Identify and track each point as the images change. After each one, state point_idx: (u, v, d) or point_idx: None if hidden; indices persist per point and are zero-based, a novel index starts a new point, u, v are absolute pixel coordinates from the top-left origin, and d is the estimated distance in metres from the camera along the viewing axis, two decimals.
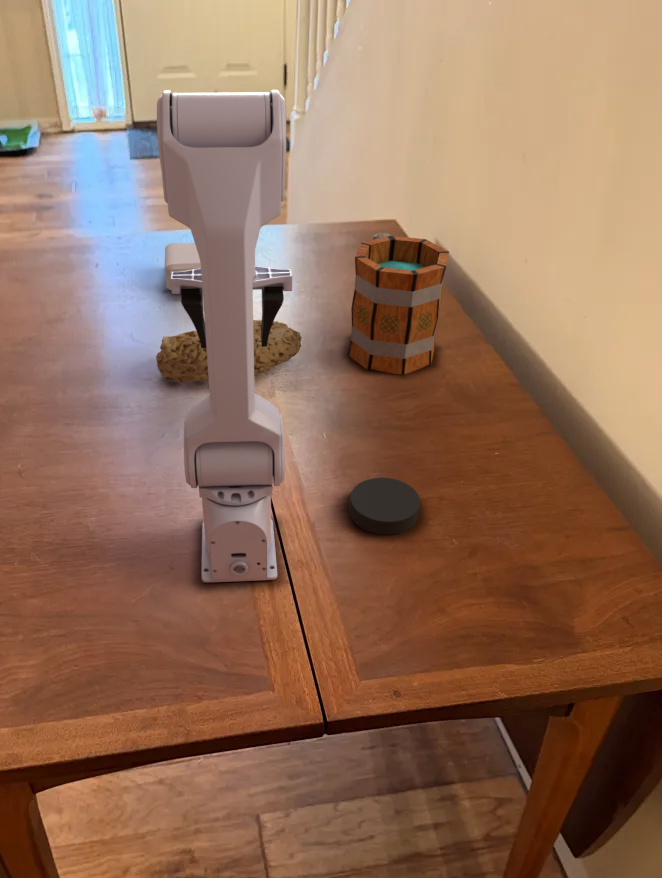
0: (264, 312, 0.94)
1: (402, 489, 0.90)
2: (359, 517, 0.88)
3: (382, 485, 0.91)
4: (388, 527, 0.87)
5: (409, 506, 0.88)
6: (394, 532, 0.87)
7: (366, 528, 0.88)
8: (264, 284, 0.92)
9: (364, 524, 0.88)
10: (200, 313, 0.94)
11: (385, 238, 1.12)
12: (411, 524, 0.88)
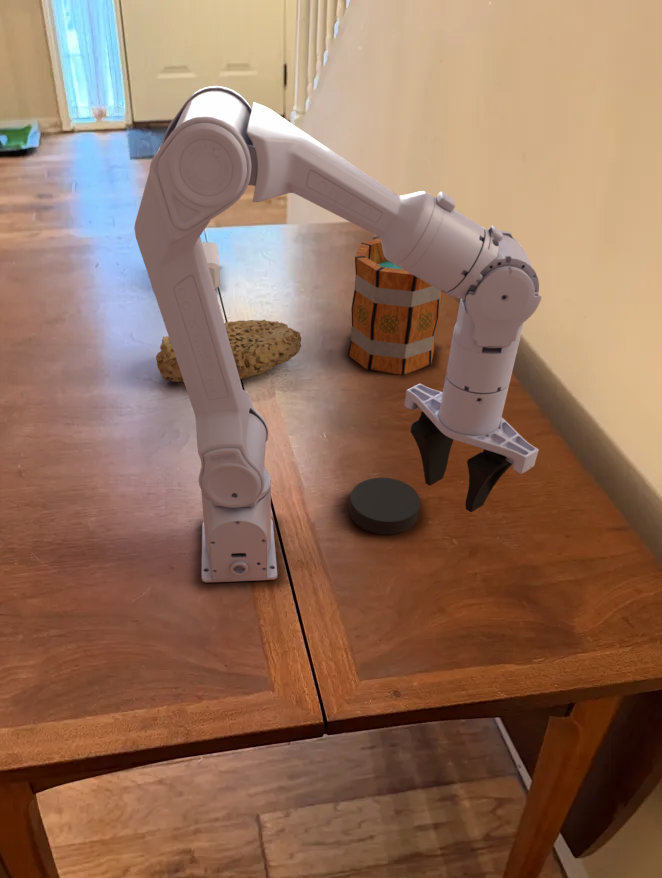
0: (470, 473, 0.74)
1: (402, 489, 0.90)
2: (359, 517, 0.88)
3: (382, 485, 0.91)
4: (388, 527, 0.87)
5: (409, 506, 0.88)
6: (394, 532, 0.87)
7: (366, 528, 0.88)
8: (487, 449, 0.71)
9: (364, 524, 0.88)
10: (425, 446, 0.77)
11: None
12: (411, 524, 0.88)
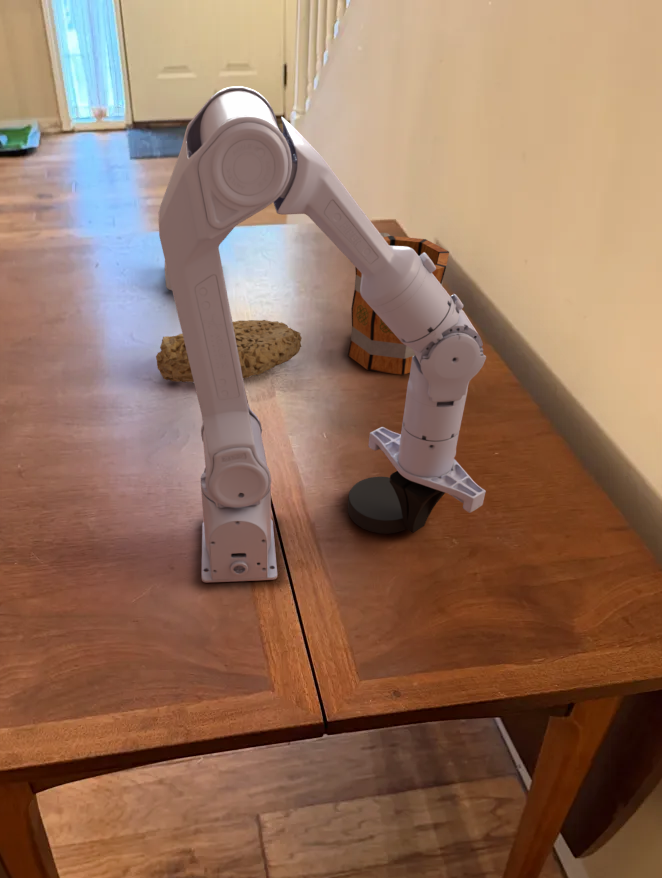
0: (408, 499, 0.82)
1: None
2: (358, 516, 0.88)
3: (381, 484, 0.91)
4: (387, 526, 0.87)
5: None
6: (393, 531, 0.87)
7: (365, 527, 0.88)
8: (440, 489, 0.78)
9: (362, 523, 0.88)
10: (403, 495, 0.83)
11: (385, 238, 1.12)
12: None
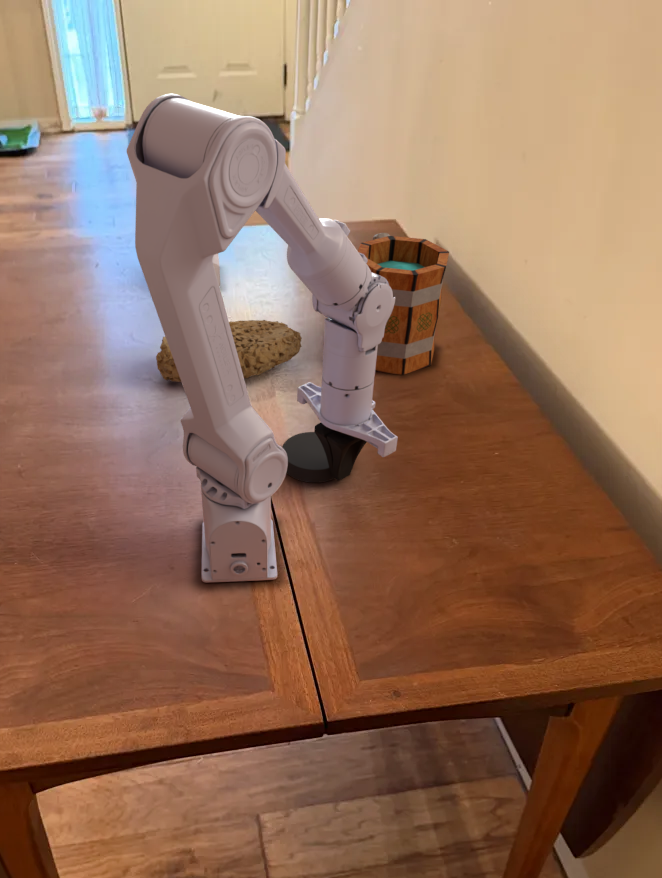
0: (331, 448, 0.89)
1: None
2: (289, 467, 0.94)
3: (312, 438, 0.98)
4: (315, 475, 0.93)
5: None
6: (322, 480, 0.94)
7: (295, 477, 0.95)
8: (357, 436, 0.85)
9: (293, 473, 0.94)
10: (327, 444, 0.89)
11: (385, 238, 1.12)
12: None
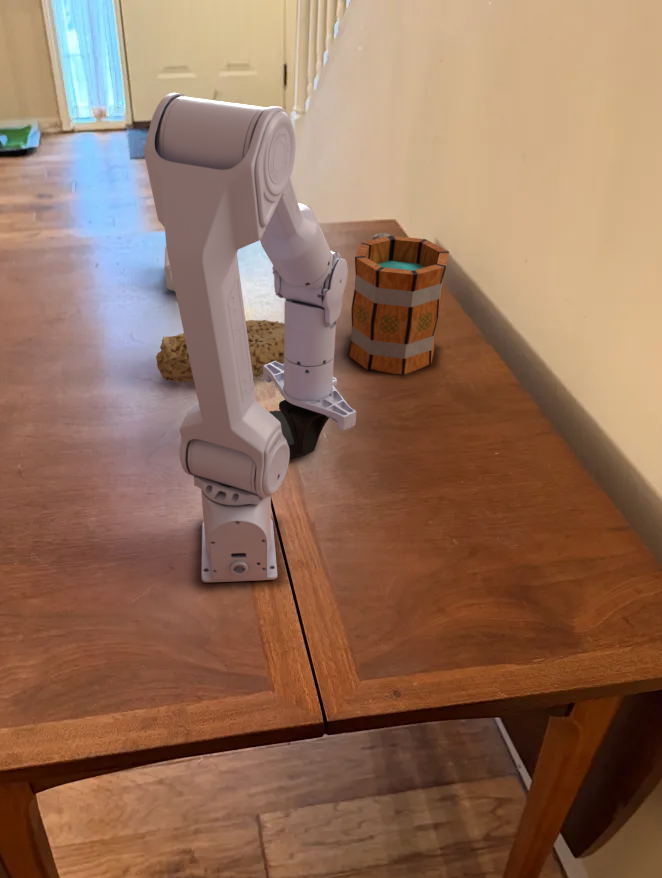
0: (295, 423, 0.93)
1: None
2: None
3: (280, 416, 1.01)
4: None
5: None
6: None
7: None
8: (317, 411, 0.88)
9: None
10: (291, 420, 0.93)
11: (385, 238, 1.12)
12: None
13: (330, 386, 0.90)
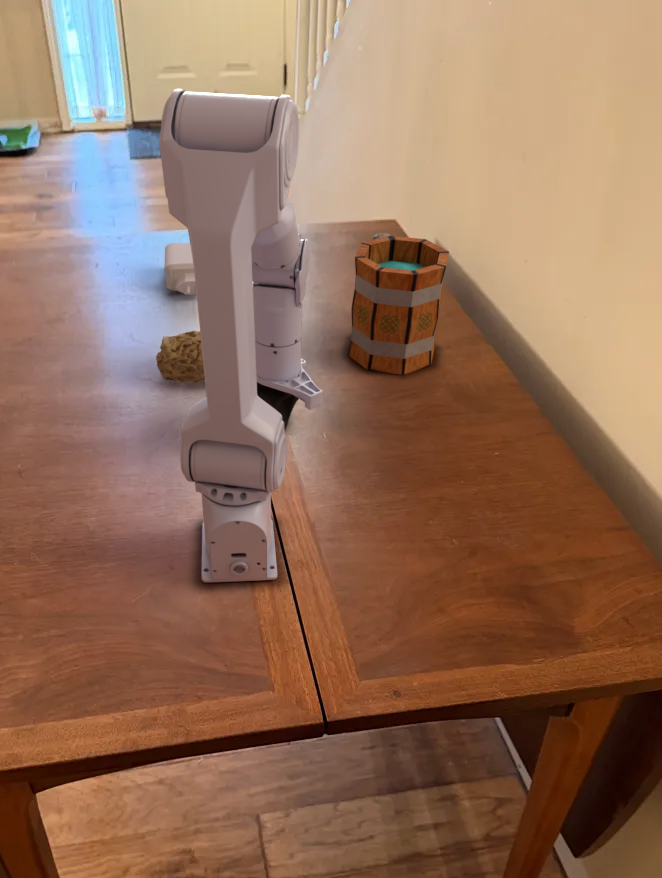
0: None
1: None
2: None
3: None
4: None
5: None
6: None
7: None
8: (285, 391, 0.92)
9: None
10: None
11: (385, 238, 1.12)
12: None
13: (298, 367, 0.93)
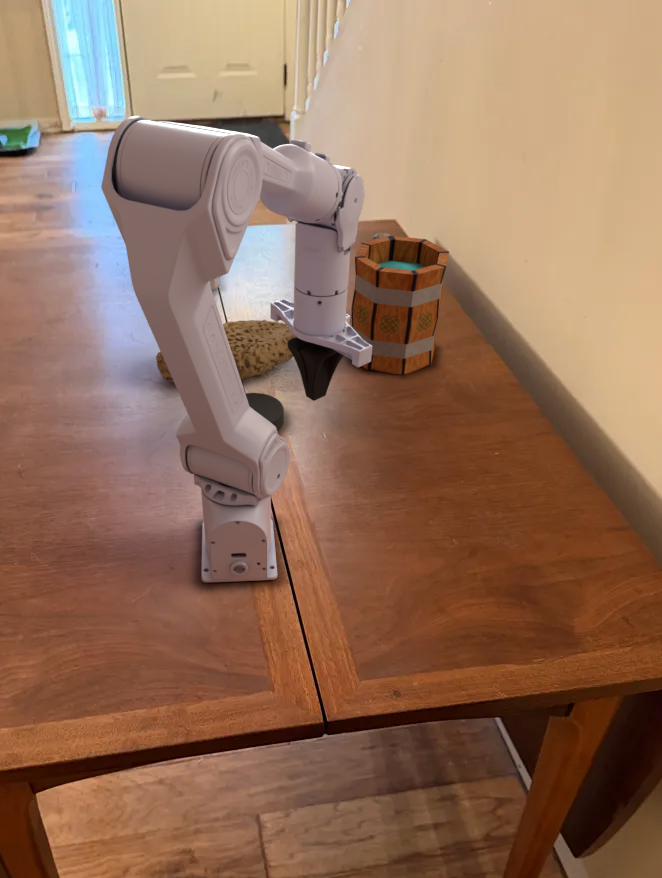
0: (306, 363, 0.87)
1: (269, 402, 1.04)
2: None
3: (253, 398, 1.04)
4: None
5: (273, 414, 1.02)
6: None
7: None
8: (330, 346, 0.83)
9: None
10: (301, 359, 0.87)
11: (385, 238, 1.12)
12: None
13: (343, 321, 0.84)
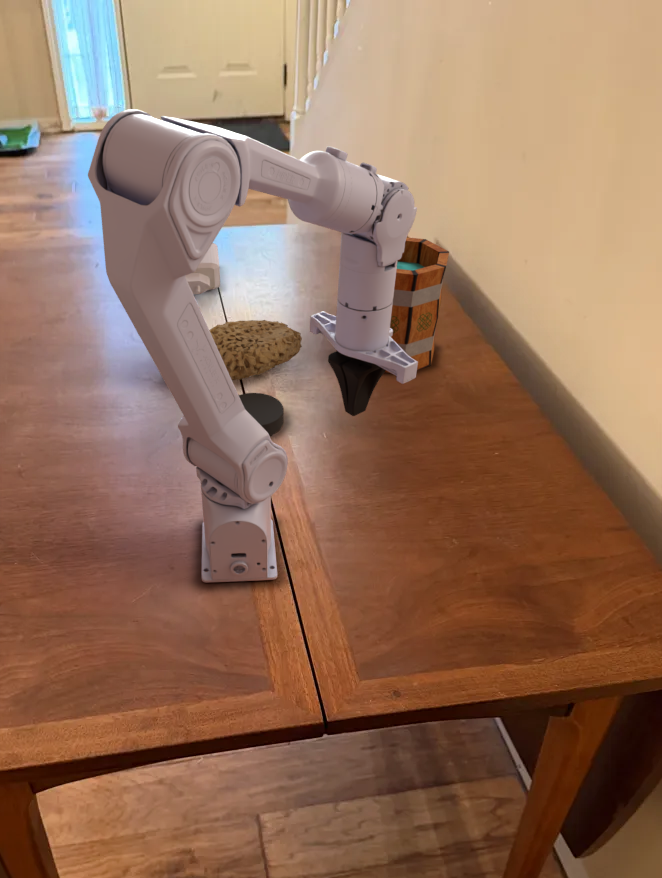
0: (347, 378, 0.84)
1: (269, 402, 1.04)
2: None
3: (253, 398, 1.04)
4: None
5: (273, 414, 1.02)
6: None
7: None
8: (374, 362, 0.80)
9: None
10: (341, 374, 0.85)
11: None
12: (274, 430, 1.01)
13: (387, 335, 0.81)
